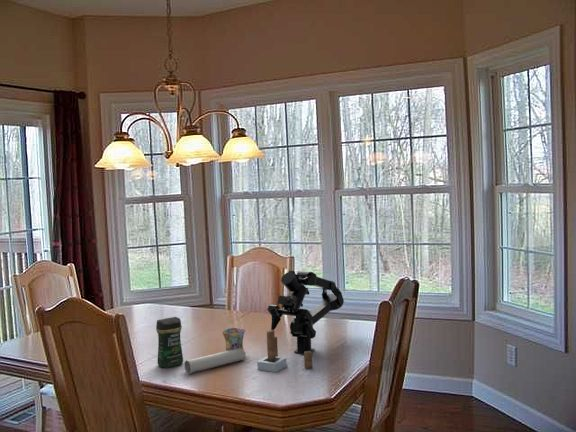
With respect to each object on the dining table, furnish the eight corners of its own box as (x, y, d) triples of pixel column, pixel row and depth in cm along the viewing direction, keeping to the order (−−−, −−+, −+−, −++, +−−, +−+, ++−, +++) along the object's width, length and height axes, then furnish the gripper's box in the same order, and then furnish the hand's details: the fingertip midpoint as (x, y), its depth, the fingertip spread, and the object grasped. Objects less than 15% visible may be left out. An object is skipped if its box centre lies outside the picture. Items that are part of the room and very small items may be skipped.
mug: (250, 357, 223) (249, 331, 223) (229, 361, 219) (228, 335, 218) (237, 350, 234) (236, 325, 233) (217, 354, 229) (215, 329, 228)
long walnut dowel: (271, 365, 212) (269, 329, 211) (277, 366, 210) (276, 330, 209) (266, 367, 210) (264, 331, 209) (273, 369, 208) (271, 332, 207)
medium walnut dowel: (273, 358, 221) (272, 336, 220) (279, 359, 219) (278, 336, 219) (269, 360, 218) (268, 338, 218) (275, 361, 217) (274, 338, 216)
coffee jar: (163, 369, 212) (160, 322, 211) (155, 365, 219) (152, 318, 218) (186, 364, 218) (184, 317, 217) (177, 359, 224) (175, 314, 223)
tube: (239, 347, 224) (183, 360, 209) (246, 345, 220) (189, 359, 205) (242, 360, 223) (185, 375, 208) (248, 359, 219) (191, 373, 204)
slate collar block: (268, 362, 215) (268, 355, 215) (286, 365, 211) (286, 357, 211) (257, 369, 208) (257, 361, 208) (275, 372, 204) (275, 364, 204)
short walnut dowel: (306, 366, 210) (306, 350, 209) (313, 367, 208) (313, 351, 208) (303, 368, 207) (302, 352, 207) (310, 369, 206) (309, 353, 205)
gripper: (268, 284, 223) (252, 318, 215) (307, 289, 213) (292, 324, 205) (281, 299, 230) (266, 332, 222) (319, 304, 220) (304, 339, 212)
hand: (281, 332), depth 215 cm, fingers open, 9 cm apart
